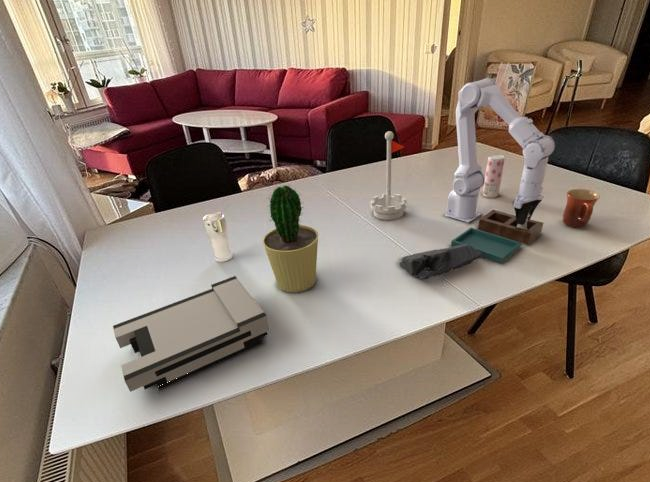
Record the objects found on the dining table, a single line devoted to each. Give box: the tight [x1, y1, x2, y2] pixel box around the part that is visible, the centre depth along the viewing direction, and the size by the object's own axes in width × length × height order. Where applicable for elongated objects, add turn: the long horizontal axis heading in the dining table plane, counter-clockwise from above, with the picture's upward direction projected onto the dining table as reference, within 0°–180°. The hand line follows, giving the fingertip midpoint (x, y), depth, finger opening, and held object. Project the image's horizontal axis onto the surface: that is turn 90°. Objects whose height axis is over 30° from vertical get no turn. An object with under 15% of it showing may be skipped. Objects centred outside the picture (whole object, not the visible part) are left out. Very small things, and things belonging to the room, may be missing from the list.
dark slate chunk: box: [399, 245, 483, 280], centre depth 114 cm, size 15×22×5 cm
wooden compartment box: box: [477, 209, 544, 246], centre depth 127 cm, size 16×9×4 cm, turn 42°
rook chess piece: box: [517, 212, 530, 230], centre depth 123 cm, size 4×4×8 cm
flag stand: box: [370, 130, 408, 221], centre depth 140 cm, size 13×13×30 cm
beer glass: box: [202, 211, 234, 263], centre depth 128 cm, size 7×7×15 cm
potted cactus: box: [262, 184, 319, 293], centre depth 108 cm, size 15×15×30 cm
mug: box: [562, 188, 601, 229], centre depth 124 cm, size 12×9×10 cm
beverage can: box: [482, 154, 505, 199], centre depth 149 cm, size 6×6×15 cm
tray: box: [450, 227, 522, 265], centre depth 121 cm, size 16×11×2 cm
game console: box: [112, 275, 271, 393], centre depth 95 cm, size 21×32×8 cm, turn 120°
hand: (522, 221), depth 123 cm, fingers open, 3 cm apart
